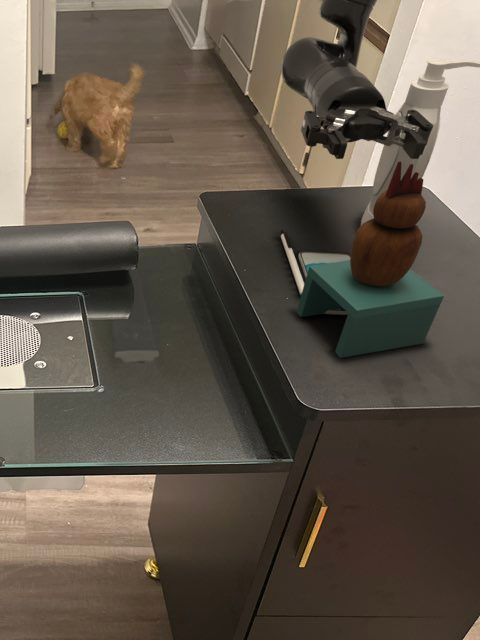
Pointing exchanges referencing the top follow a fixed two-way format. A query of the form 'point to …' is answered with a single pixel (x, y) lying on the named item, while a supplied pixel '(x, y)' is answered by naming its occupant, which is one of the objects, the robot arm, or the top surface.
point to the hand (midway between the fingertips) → (380, 151)
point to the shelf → (371, 308)
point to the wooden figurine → (390, 233)
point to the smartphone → (318, 259)
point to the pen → (292, 261)
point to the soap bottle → (427, 102)
